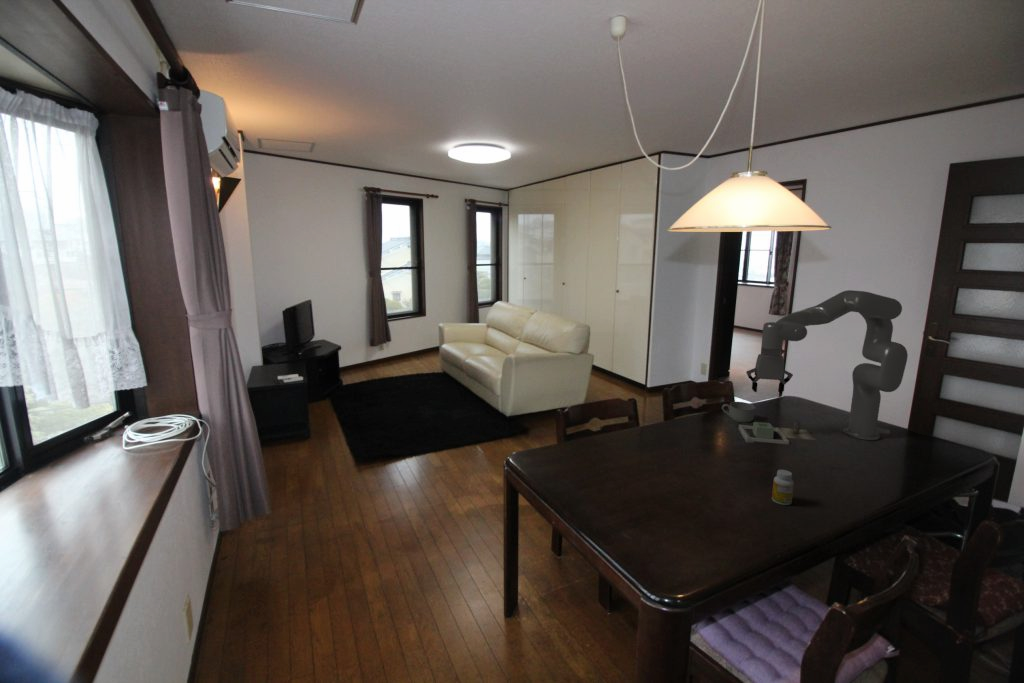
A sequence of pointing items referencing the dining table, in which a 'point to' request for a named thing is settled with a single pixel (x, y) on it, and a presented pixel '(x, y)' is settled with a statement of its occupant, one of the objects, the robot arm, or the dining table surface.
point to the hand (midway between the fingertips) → (767, 392)
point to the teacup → (740, 411)
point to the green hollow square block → (763, 430)
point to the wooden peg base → (796, 432)
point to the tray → (750, 439)
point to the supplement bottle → (783, 488)
